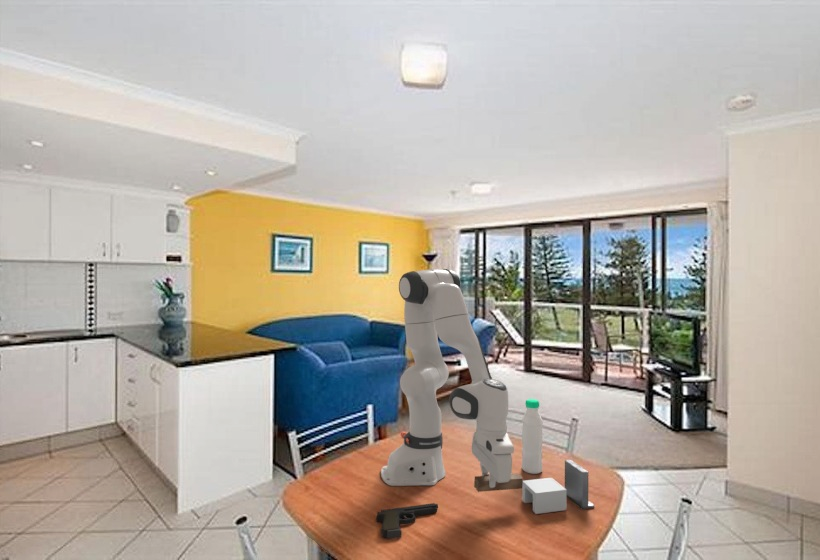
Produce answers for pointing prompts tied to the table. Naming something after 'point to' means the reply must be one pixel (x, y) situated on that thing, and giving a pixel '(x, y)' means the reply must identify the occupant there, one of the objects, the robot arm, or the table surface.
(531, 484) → the tunnel block
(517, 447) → the table surface
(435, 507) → the handgun
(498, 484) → the walnut bar
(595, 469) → the table surface
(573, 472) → the wall
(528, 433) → the water bottle
